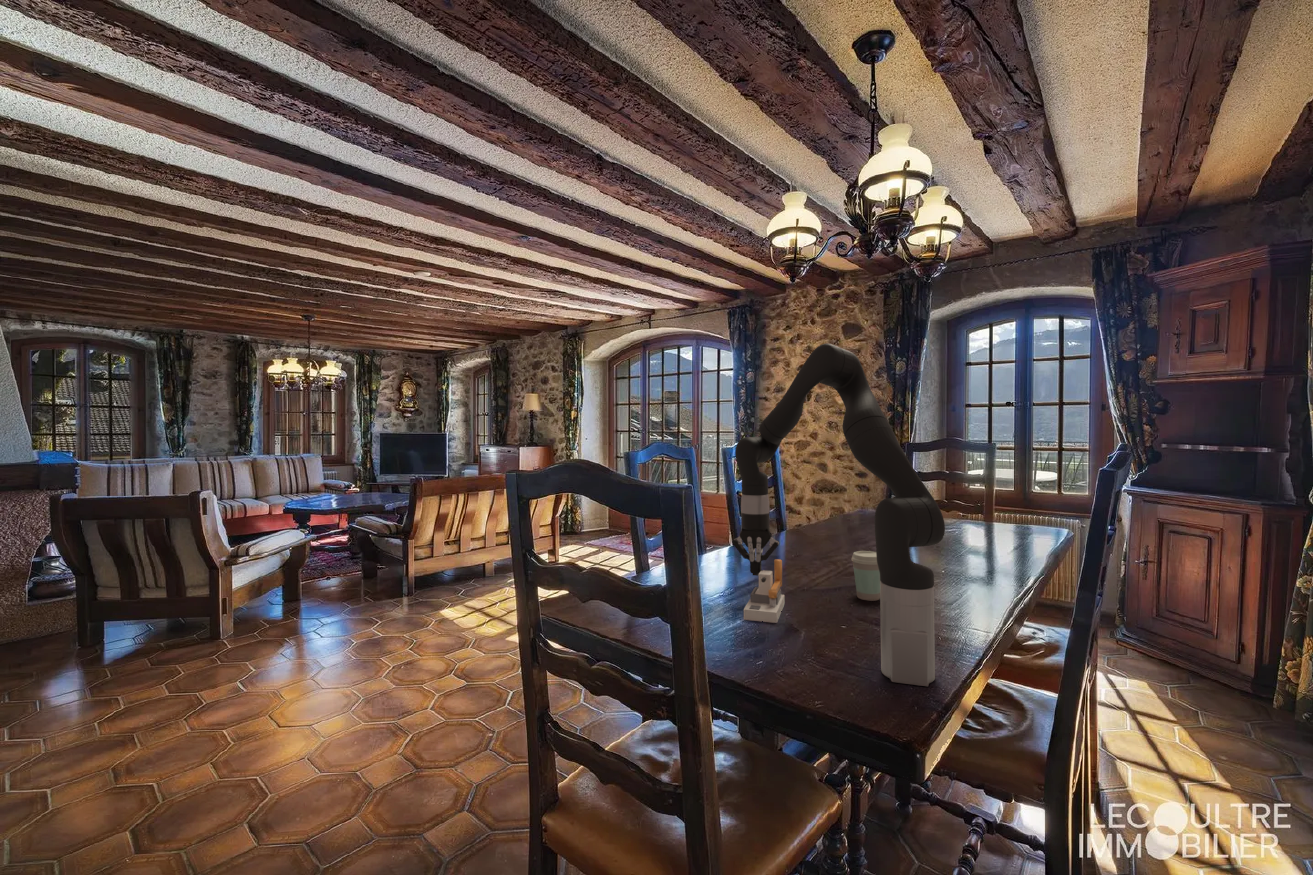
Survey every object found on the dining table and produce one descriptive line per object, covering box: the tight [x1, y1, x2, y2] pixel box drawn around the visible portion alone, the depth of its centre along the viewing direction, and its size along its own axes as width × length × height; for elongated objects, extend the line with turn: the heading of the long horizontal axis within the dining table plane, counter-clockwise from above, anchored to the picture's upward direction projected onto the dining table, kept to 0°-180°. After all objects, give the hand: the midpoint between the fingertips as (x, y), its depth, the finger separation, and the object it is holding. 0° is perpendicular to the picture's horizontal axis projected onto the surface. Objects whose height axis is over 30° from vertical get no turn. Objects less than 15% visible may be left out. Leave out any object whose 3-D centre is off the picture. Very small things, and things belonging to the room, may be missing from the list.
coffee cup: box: [850, 550, 880, 602], centre depth 150 cm, size 8×8×12 cm
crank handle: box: [769, 558, 783, 598], centre depth 142 cm, size 14×2×7 cm, turn 160°
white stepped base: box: [743, 586, 786, 624], centre depth 140 cm, size 15×8×4 cm, turn 160°
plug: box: [755, 569, 774, 595], centre depth 141 cm, size 6×5×7 cm
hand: (756, 574), depth 148 cm, fingers closed
